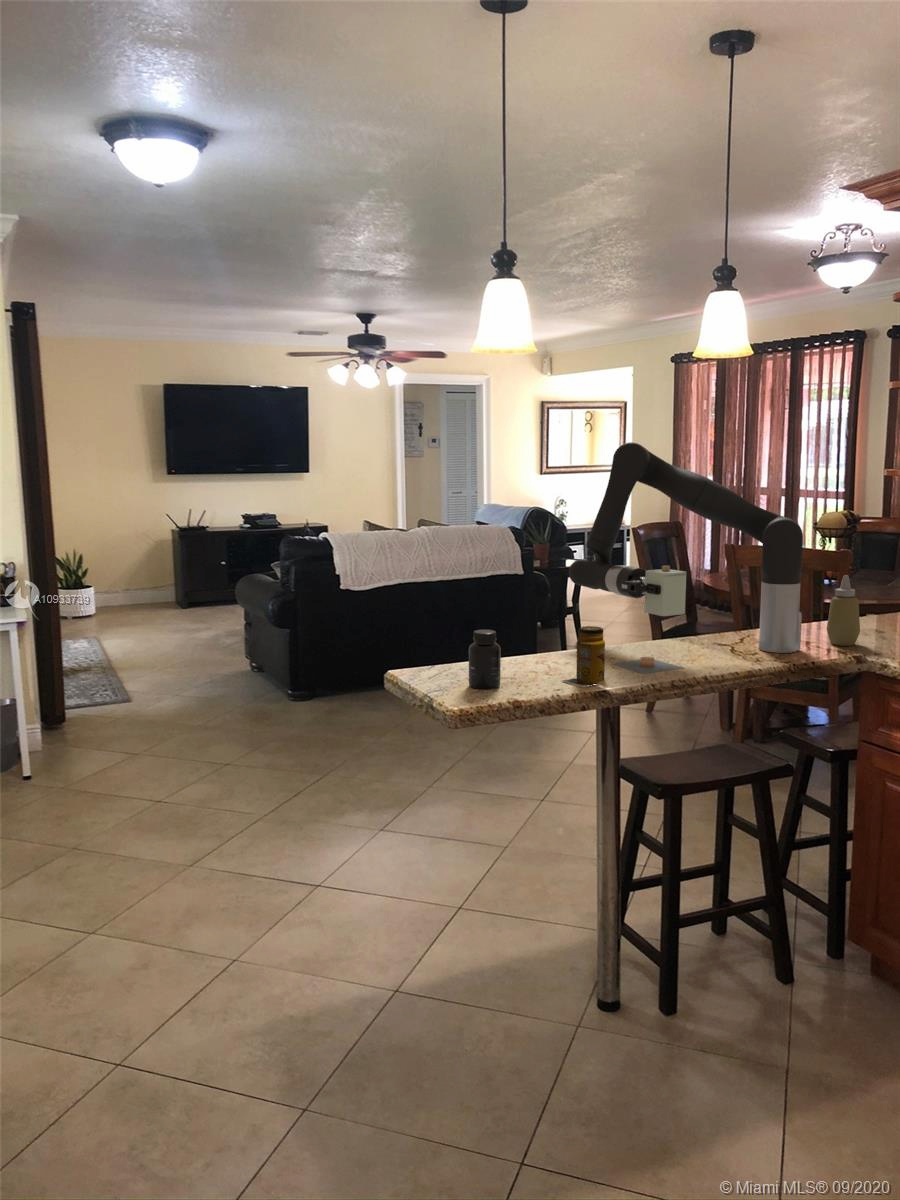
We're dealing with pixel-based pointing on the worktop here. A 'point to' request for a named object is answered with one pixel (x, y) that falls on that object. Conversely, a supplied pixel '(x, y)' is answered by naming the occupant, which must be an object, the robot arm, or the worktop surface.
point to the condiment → (589, 657)
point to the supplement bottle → (484, 661)
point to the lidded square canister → (666, 592)
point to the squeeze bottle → (844, 616)
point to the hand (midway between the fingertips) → (671, 589)
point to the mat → (636, 667)
